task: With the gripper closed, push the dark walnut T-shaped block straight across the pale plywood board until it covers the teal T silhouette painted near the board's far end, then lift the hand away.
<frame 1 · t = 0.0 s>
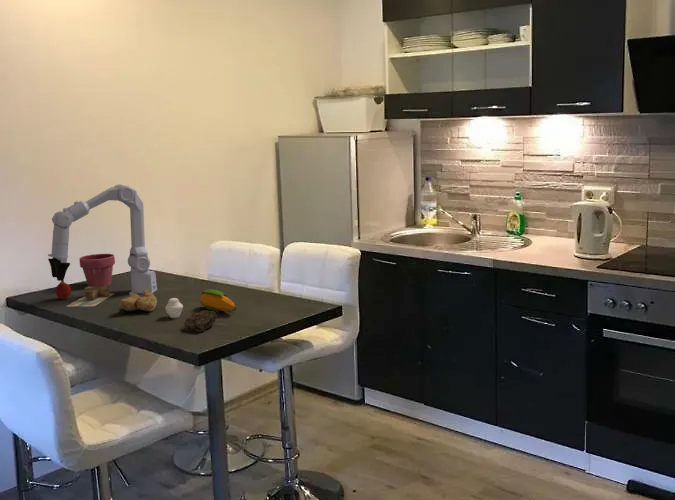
hand: (57, 278, 278), 11 cm above the table, tool pointing down, fingers open, 7 cm apart
dark brown lumpy piece: (199, 328, 245), on the table
t block: (97, 296, 291), point 1 cm above the table, touching board
white jar: (174, 317, 259), on the table
onion: (64, 300, 288), on the table
plant pot: (99, 286, 311), on the table
ginger root: (140, 311, 270), on the table
board: (91, 301, 285), on the table
corn: (219, 311, 265), on the table
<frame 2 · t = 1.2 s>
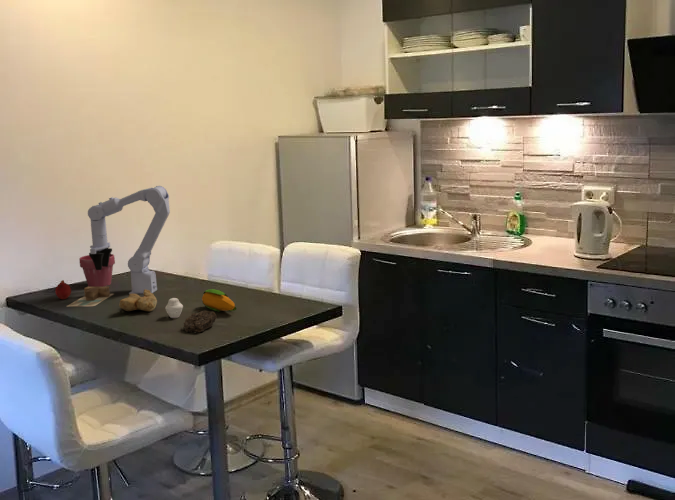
hand: (102, 268, 296), 10 cm above the table, tool pointing down, fingers open, 6 cm apart
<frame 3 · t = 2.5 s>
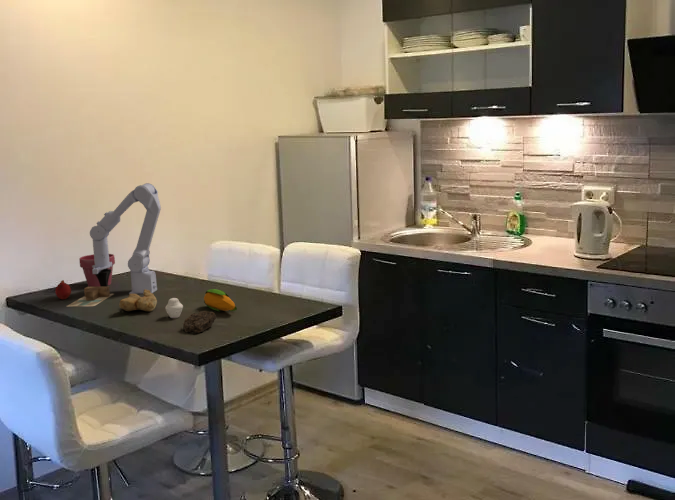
hand: (104, 287, 297), 2 cm above the table, tool pointing down, fingers closed
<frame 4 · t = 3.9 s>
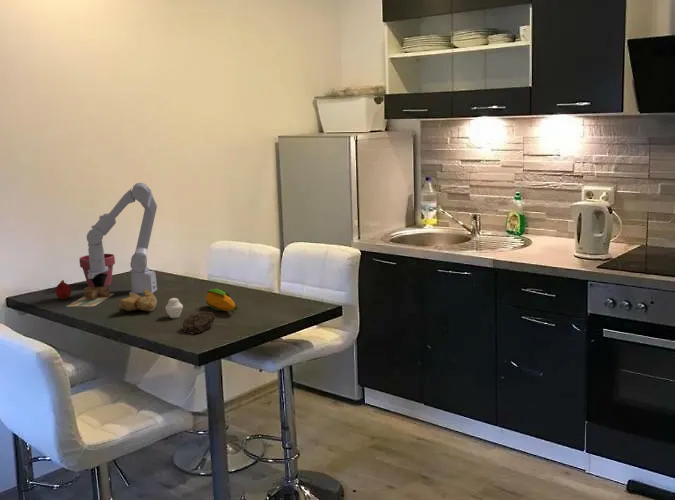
hand: (100, 292, 293), 1 cm above the table, tool pointing down, fingers closed
t block: (97, 296, 291), point 1 cm above the table, touching gripper
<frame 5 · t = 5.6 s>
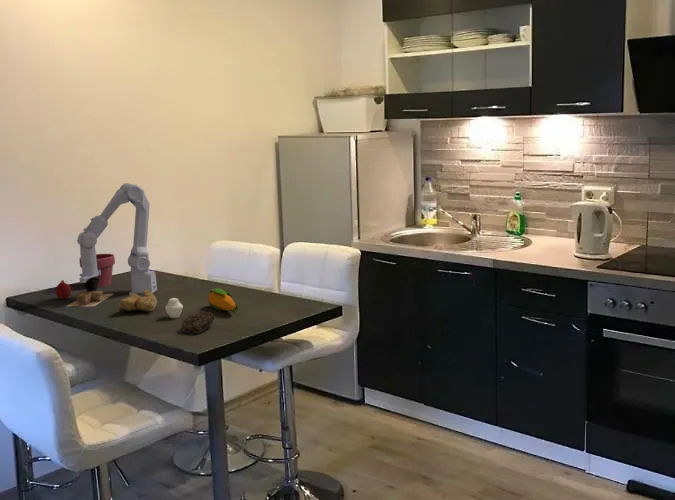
hand: (92, 296, 286), 1 cm above the table, tool pointing down, fingers closed
t block: (90, 300, 284), point 1 cm above the table, touching gripper
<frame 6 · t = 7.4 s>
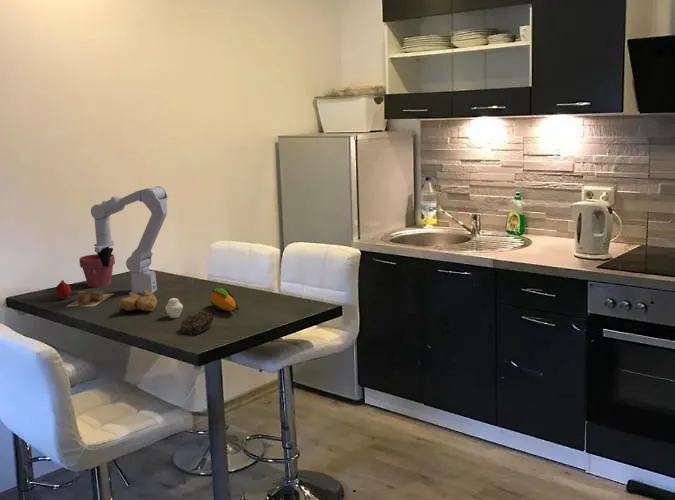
hand: (106, 266, 299), 10 cm above the table, tool pointing down, fingers closed
t block: (90, 300, 284), point 1 cm above the table, touching board
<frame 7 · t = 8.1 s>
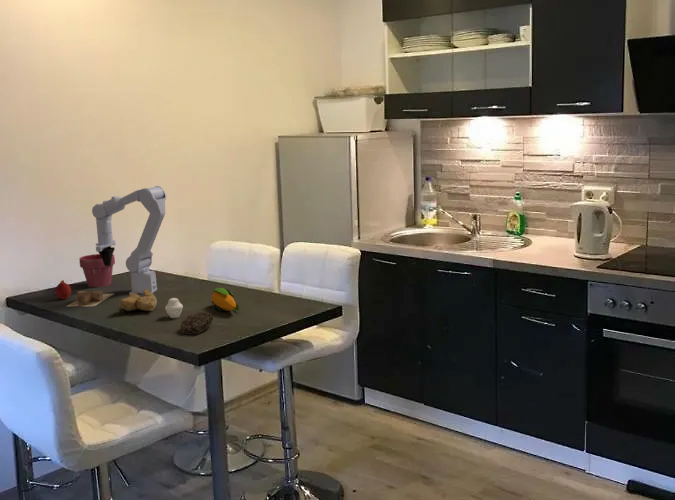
hand: (107, 265, 301), 10 cm above the table, tool pointing down, fingers closed
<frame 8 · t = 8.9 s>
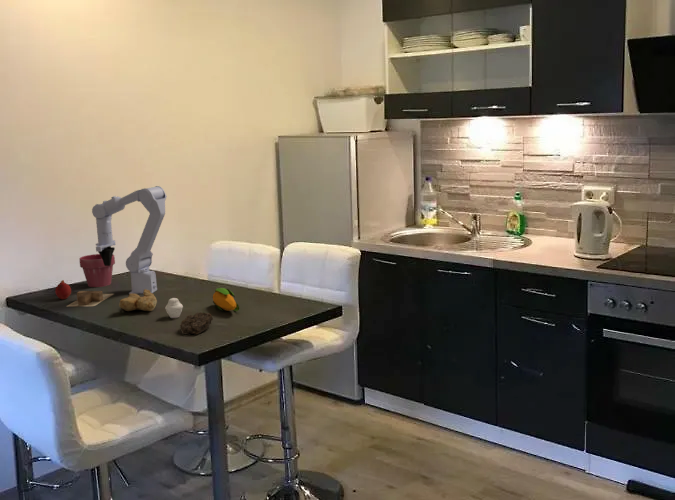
hand: (107, 265, 301), 10 cm above the table, tool pointing down, fingers closed
at the end: t block 0.6 cm from the target spot, point 0.6 cm above the table; t block tilted 0°; t block moved 7.3 cm from its start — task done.
